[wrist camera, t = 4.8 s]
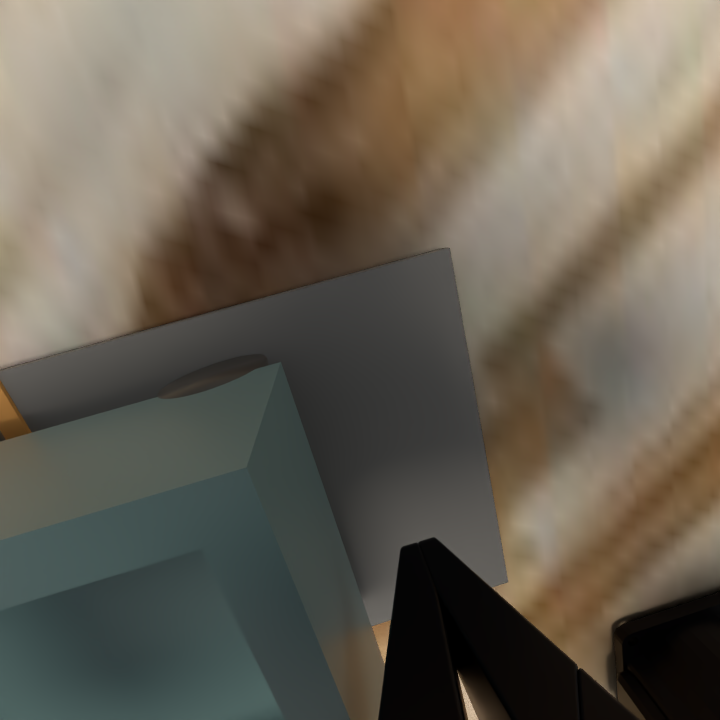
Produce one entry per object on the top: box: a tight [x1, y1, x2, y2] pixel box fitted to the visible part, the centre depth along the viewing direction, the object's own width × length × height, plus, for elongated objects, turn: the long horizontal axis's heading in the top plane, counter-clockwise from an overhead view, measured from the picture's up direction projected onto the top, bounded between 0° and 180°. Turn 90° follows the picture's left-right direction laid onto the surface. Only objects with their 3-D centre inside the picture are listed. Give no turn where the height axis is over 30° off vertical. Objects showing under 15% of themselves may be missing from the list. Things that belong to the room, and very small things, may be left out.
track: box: [0, 248, 508, 626], centre depth 11 cm, size 24×12×1 cm, turn 105°
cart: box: [0, 354, 385, 720], centre depth 8 cm, size 10×10×6 cm
